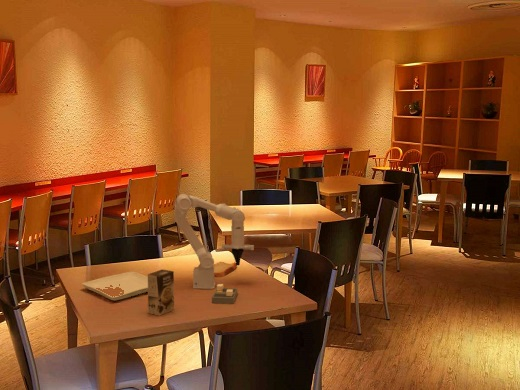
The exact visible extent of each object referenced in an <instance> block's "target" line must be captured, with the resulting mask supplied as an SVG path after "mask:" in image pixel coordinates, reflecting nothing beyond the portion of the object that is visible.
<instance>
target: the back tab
mask: <svg viewBox="0 0 520 390" xmlns="http://www.w3.org/2000/svg"><path fill="white" fill-rule="evenodd" d="M224 288H225V287H224V283H217V284H216V289H217V291H223V289H224Z"/></svg>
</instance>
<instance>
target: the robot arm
mask: <svg viewBox="0 0 520 390" xmlns="http://www.w3.org/2000/svg"><path fill="white" fill-rule="evenodd" d="M198 207H199V208H201V209H202V208H203V209H205V210H208V211H211V212H214V213H215V216H217V217H220V218H222V219H226V220H228V221H231V232H230V233H231V237H230V238H231V239H230V240H231V243H229V244H227V243H226V244H222V245H221V250H231V254H232V256H233V258H234V262H235V263H236V265H237V266H240V265H241V264H240V263H241V260H242V255H243V253H244V251H246V250H247V251H249V250H250V251H254V249H255V245H254V244H245V225H244V224H245V220H246V217H245V216H246V215H245V213H244V212H243V211H242V210H241V209H240V208H236V207H231V206H229V205H227V204H226V203H219V204H216V203H213V202H210V201H207V200H206V199H205V200H204V199H203V198H201V197H197V196H195V195H190V194H187V193H180V194H179V195H178V196H177V197H176V199H175V201H174V214H173V215H174V217H173V218H174V221H175V223H176V224H177V226H178V228H179V229H180V230H181V232H182V233H183V235H184V237H185V238H186V240H187V241H188V244H190V246H191V248H192V249H193V251H194V253H195V254H196V256H197V258H198V260H199V264H198V266H195V267H193V271H192V272H193V273H192V282H193V283H192V288H193V289H203V290H204V289H205V290H206V289H208V290H213V289H215V287H216V286H217V282H215V277H214V264H215V260H214V258H213V254H212V253H211V251H208V250H207V249H206V247H205V246H204V245H203V243H202V242H201V240H200V238H199V237H198V235H197V234H196V232H195V230H194V229H193V227H192V225H191V224H190V223H189V221H188V220H187V215H188V212H189V210H190V209H191V208H192V209H195V208H198Z"/></svg>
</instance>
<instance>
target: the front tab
mask: <svg viewBox="0 0 520 390" xmlns="http://www.w3.org/2000/svg"><path fill="white" fill-rule="evenodd" d="M232 295H233V290H232V289H227V291H226V296H232Z"/></svg>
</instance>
